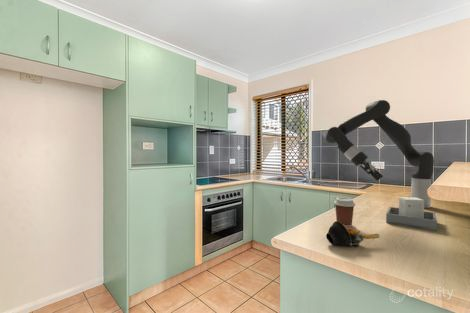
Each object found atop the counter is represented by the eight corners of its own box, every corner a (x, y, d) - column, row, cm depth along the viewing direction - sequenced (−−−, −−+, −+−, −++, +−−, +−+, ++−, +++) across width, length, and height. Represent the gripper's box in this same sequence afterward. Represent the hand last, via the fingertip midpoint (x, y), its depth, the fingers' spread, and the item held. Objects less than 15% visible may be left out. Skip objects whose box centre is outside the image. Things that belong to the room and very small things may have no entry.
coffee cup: (358, 228, 100) (358, 201, 99) (336, 227, 101) (336, 200, 101) (351, 222, 109) (352, 197, 108) (331, 220, 110) (331, 196, 110)
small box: (416, 218, 110) (416, 197, 110) (424, 222, 105) (424, 199, 104) (398, 218, 111) (398, 196, 111) (405, 221, 106) (405, 199, 105)
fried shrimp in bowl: (317, 228, 88) (355, 210, 91) (332, 256, 84) (370, 236, 88) (329, 226, 79) (369, 207, 83) (346, 258, 76) (387, 236, 80)
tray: (389, 215, 120) (389, 206, 119) (434, 221, 108) (434, 212, 108) (386, 222, 107) (386, 213, 107) (436, 231, 96) (437, 220, 96)
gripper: (358, 150, 114) (385, 174, 108) (363, 150, 126) (388, 172, 119) (347, 160, 118) (372, 184, 111) (353, 159, 129) (376, 181, 122)
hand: (380, 178), depth 115 cm, fingers open, 8 cm apart
